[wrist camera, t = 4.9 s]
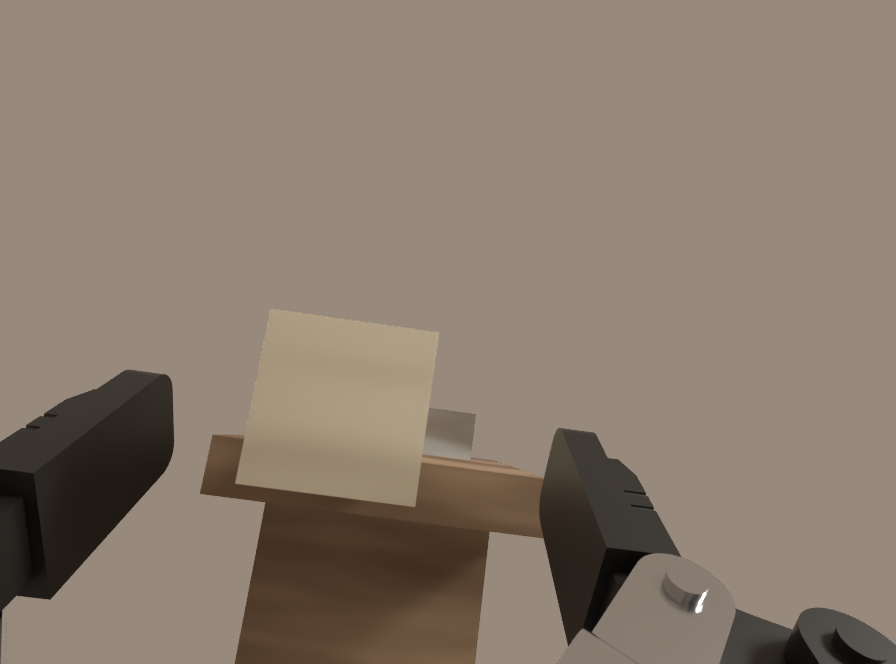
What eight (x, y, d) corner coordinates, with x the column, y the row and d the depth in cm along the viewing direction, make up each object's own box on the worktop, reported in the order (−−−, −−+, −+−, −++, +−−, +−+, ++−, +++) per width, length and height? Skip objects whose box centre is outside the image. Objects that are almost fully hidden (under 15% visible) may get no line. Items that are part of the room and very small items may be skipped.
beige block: (326, 439, 30) (333, 397, 31) (465, 457, 31) (470, 416, 31) (20, 456, 7) (69, 280, 7) (621, 534, 7) (632, 359, 8)
